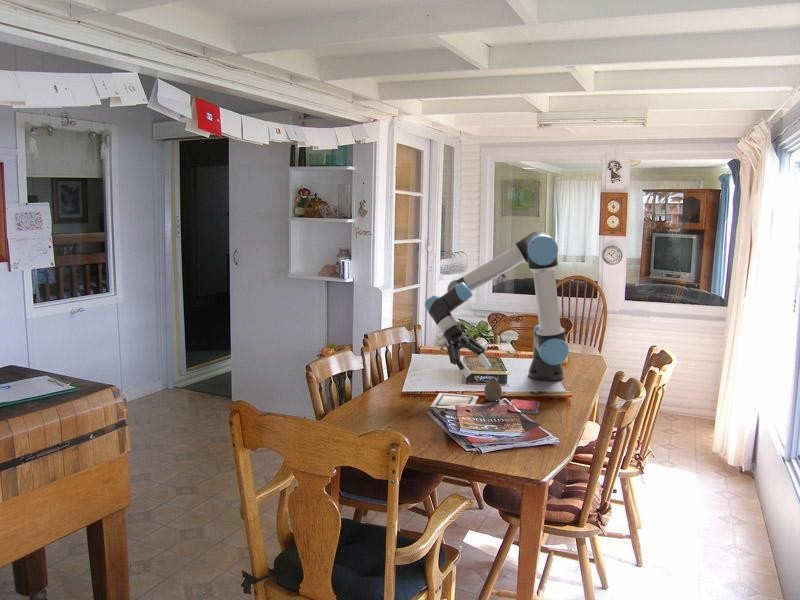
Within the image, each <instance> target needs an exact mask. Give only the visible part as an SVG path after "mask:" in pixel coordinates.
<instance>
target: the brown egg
mask: <svg viewBox="0 0 800 600" xmlns="http://www.w3.org/2000/svg"><path fill="white" fill-rule="evenodd" d="M502 392H503V391H502V386H501V385H500V383H499V382H498V380H497V378H496V377H495V378H494V377H491V378H490V379H489V380H488V382H487V383H486V384H485V386H484V391H483V393H484V396H485V398H486V400H487V401H489V402H493V401H495V402H497V401H496V400H498V401H499V400H500V399H501V397H502V394H503V393H502ZM493 403H494V402H493Z"/></svg>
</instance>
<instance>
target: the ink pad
mask: <svg viewBox="0 0 800 600" xmlns="http://www.w3.org/2000/svg"><path fill="white" fill-rule="evenodd" d="M510 403H511V404H512V405H514V406H515V407H516V408H517V409H518V410H520V411H521V412H523V413H522V414H528V415H529V414H530V415H538V414H539V413H538V412H539V409H540V404H541V403H540V401H535V400H526V399H516V398H515V399H511V400H510Z"/></svg>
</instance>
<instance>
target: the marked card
mask: <svg viewBox="0 0 800 600" xmlns="http://www.w3.org/2000/svg"><path fill="white" fill-rule="evenodd" d="M478 399H479V396H477V395H470V394H469V395H467V394H458V393H457V394H456V393H447V392H445V393H444V392H439V394H438V395H437V396H436V398H435V399H434V400H433V401H432V404H431V405H430V406H429V408H430V407H435V406H450V405H460V404H475V405H476V403H477V402H478Z"/></svg>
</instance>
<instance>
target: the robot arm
mask: <svg viewBox="0 0 800 600" xmlns="http://www.w3.org/2000/svg"><path fill="white" fill-rule="evenodd" d="M558 254H559V246H558V244H557V241H556V239H554V237H552V236H551V235H549V234H548V233H546V232H544V231H540V230H539V231H538V230H537V231H533V232H531V233H529V234H528V235H526V236H525V237H523V238H521V239H520V240H519V241H517V242H515V243H514V245H513V247H511V248H510V249H508V250H506V251H504V252H503V253H501V254H499V255H498V256H496V257H494V258H492V259H490V260H489V261H487V262H486V263H484V264H482V265H480V266H479V267H477V268H475V269H473V270H471V271H469V272H468V273H467V274H464V275H463V276H462V277H459V278H458V279H454V280H452V281H451V282H449V284H448V285H447V289H446V290H447V292H446V293H445V294H443V295H441V296H440V295H438V294H434V295H432V296H430V297H429V298H427V299H426V300H425V302H424V307H425V309H426V311H427V313H428V314H429V315H430V317H431V318H432V320H433V322H434V323H435V324H436V326H437V328H438V329H439V330H440V331H441V333H442V334H443V337H444V338H445V340H446V342H445V343H444V344H445V347H446V349H447V352H448V357H449V363H450V364H451V365H452V364H453V365H454V366H457V367H458V369H459V370H460V371H461V372H462V374H463V375H464V378H468V377H469V376H471V374H472V373H471V371H470V370H469V368H468V366H467V365H466V364H465V362H464V361H463V360H462V359H461V349H468V351H470V352H472V353H473V354H475V355H477V358H478V359H479V360H480V362H481V364H482V365H483V367H484V368H485V370H486V371H488V370H490V368H491V367H492V364H491V363H490V361H489V359H488V357H487V356H486V355H485V351H486V348H485V347H484V346H482V345H481V344H480V343H479V342H477V340H475V338H472V336H471V335H470V334H469V333H467V334H466V335H464V333H463V332H464V331H463V329H462V327H461V326H460V325H459V324H458V321H457V320H456V318H455V317H454V316H453V315H452V313H451V312H453V311H454V310H455V309H457V308H458V307H459V306H461V305H463V304H464V303H465V302H468V301H469V299H470V298H472V297H473V291H475V290H477V289H478V288H480V287H482V286H484V285H486V284H487V283H489V282H491V281H492V280H495V279H496V278H498V277H500V276H501V275H503V274H505V273H507V272H508V271H510V270H512V269H513V268H515V267H517V266H519V265H520V264H528V269H529V270H530V271H531V272H532V275H533V282H534V283H533V284H534V291H535V299H536V300H535V301H536V308H537V309H536V310H537V317H538V319H537V320H538V324H536V325H535V326H534V327H533V350H532V351H533V353H532V360H531V363H530V366H529V368H528V376H529V377H530V378H531V379H534V380H538V381H544V382H555V381H559V380H562V379H563V378H564V375H565V372H564V368H563V364H562V363H563V362H565V361H566V359H567V358H568V356H569V352H570V351H569V349H570V348H569V346H568V344H567V341H566V340H567V339H566V331H565V328H564V327H562V325H561V317H560V310H559V309H560V308H559V307H560V306H559V299H558V290H557V282H556V281H557V280H556V271H555V270H556V269H557V267H558V266H559V265H558Z"/></svg>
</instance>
